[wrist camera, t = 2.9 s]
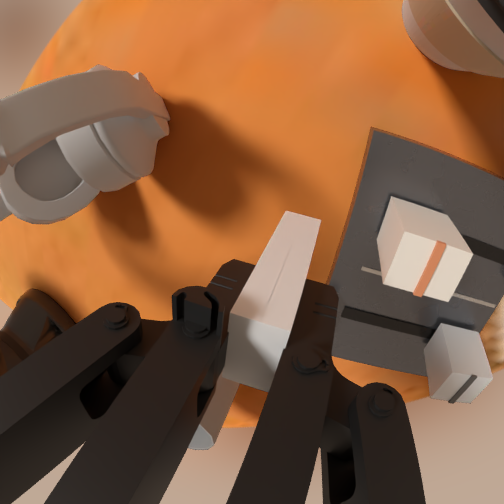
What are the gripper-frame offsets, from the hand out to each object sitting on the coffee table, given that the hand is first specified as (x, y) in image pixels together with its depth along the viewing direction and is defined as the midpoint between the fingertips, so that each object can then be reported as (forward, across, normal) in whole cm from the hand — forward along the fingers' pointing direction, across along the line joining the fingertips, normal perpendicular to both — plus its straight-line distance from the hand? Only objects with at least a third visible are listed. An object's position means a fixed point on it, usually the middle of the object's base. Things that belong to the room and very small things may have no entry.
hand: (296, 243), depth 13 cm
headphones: (+9, -16, +1) cm, 19 cm away
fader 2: (+7, +14, -8) cm, 18 cm away
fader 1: (+7, +6, 0) cm, 9 cm away
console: (+9, +10, -4) cm, 14 cm away
